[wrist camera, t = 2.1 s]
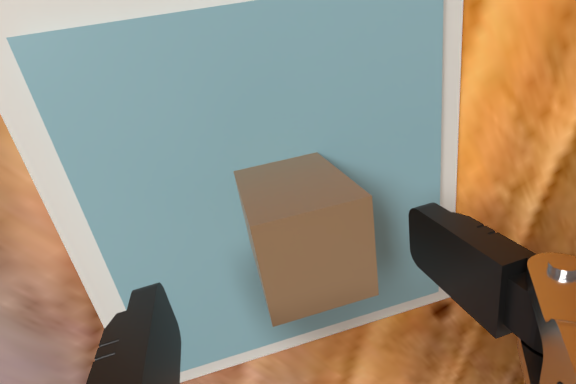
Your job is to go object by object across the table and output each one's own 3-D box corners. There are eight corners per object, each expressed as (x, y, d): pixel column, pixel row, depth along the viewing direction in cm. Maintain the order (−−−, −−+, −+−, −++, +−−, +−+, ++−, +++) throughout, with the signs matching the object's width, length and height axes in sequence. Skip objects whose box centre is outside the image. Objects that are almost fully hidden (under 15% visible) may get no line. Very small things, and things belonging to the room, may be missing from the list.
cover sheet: (430, -24, 14) (578, -77, 8) (429, 282, 19) (515, 366, 14) (18, 39, 11) (-143, 20, 6) (158, 365, 17) (139, 502, 12)
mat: (455, -69, 14) (466, -74, 13) (445, 290, 21) (452, 296, 20) (-46, -4, 11) (-58, -7, 10) (139, 385, 18) (137, 396, 17)
